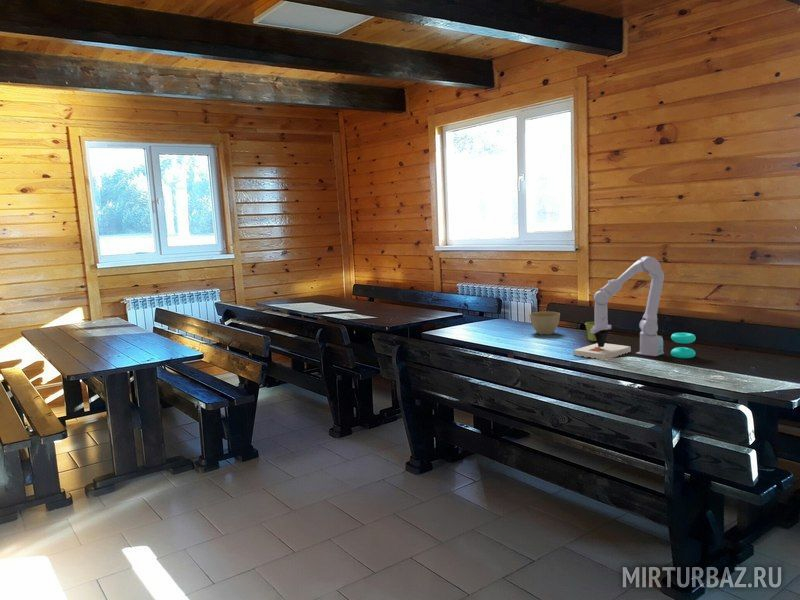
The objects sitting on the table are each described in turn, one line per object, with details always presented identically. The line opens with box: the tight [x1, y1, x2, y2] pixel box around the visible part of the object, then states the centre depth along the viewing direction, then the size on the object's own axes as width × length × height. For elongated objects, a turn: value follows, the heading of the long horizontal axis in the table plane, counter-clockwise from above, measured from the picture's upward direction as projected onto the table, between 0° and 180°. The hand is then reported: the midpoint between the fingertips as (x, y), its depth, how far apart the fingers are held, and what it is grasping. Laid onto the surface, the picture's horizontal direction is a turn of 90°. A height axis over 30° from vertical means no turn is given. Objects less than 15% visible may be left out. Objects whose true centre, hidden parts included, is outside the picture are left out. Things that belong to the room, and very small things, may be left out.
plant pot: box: [584, 321, 597, 342], centre depth 322 cm, size 9×9×9 cm
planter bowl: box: [529, 311, 561, 335], centre depth 345 cm, size 16×16×11 cm
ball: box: [593, 347, 602, 352], centre depth 287 cm, size 4×4×4 cm
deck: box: [573, 342, 632, 361], centre depth 290 cm, size 16×22×2 cm
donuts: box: [670, 332, 697, 359], centre depth 278 cm, size 10×10×10 cm
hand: (601, 346), depth 289 cm, fingers closed
